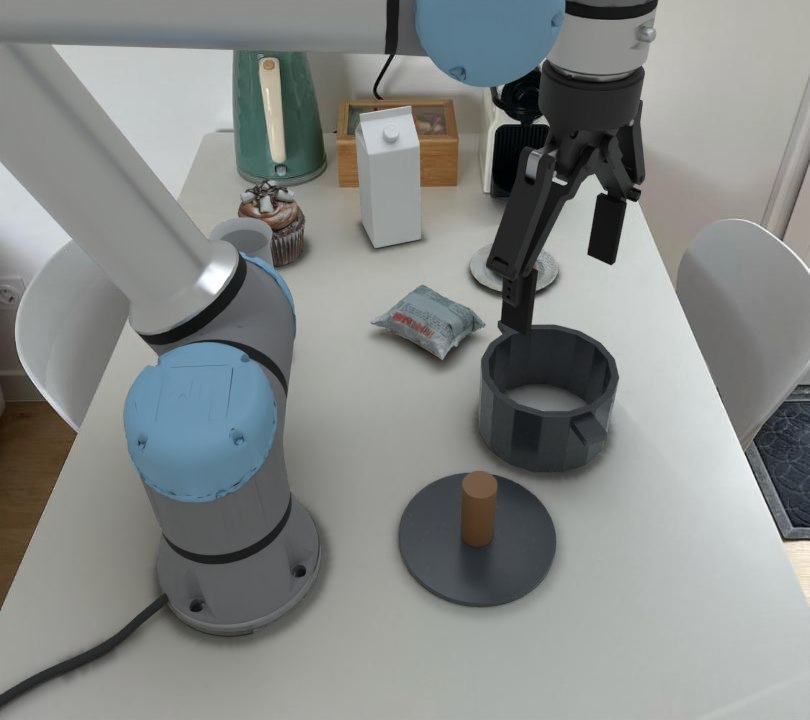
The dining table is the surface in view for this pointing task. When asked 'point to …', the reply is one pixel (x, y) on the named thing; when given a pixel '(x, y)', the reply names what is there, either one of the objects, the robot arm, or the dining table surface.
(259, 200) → the cupcake
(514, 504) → the lid
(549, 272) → the pastry
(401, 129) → the milk carton
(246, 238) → the chalice
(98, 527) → the dining table surface
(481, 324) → the packaged food
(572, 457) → the pot
